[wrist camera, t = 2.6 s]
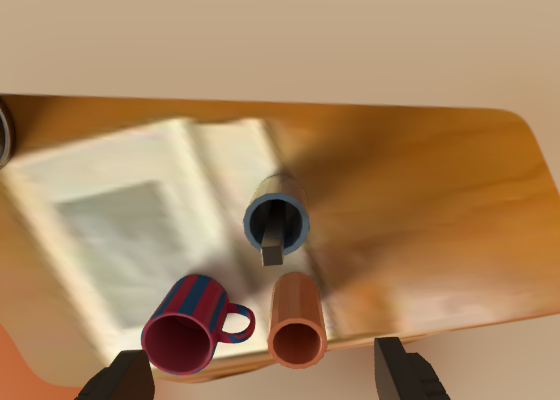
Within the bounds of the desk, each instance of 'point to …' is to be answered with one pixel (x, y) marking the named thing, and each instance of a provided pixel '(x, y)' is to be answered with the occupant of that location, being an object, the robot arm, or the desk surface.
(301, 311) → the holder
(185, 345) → the mug
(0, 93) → the desk surface
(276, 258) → the chopstick
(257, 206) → the holder
